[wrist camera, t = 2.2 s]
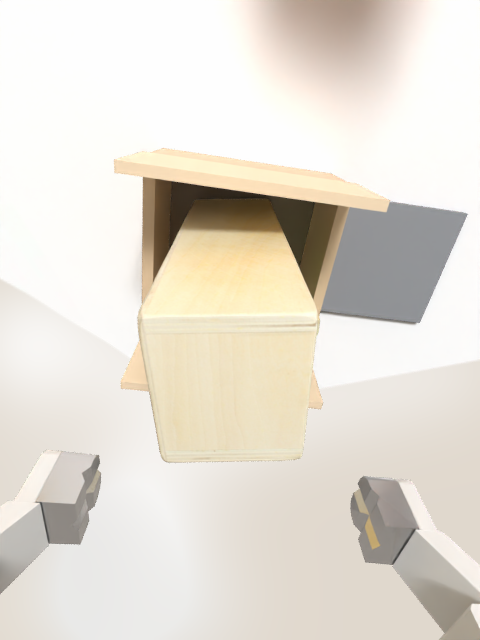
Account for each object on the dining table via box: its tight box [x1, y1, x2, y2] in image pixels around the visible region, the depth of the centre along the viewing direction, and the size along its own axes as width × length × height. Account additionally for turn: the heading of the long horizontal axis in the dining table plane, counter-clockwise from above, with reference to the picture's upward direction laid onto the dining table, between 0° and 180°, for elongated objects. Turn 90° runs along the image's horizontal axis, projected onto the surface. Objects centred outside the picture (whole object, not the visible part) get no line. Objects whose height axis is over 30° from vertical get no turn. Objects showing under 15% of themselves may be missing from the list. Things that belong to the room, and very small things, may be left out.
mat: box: [321, 202, 467, 323], centre depth 33 cm, size 11×11×1 cm
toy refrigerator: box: [138, 199, 320, 462], centre depth 23 cm, size 8×7×21 cm
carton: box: [114, 148, 390, 409], centre depth 27 cm, size 14×14×13 cm
